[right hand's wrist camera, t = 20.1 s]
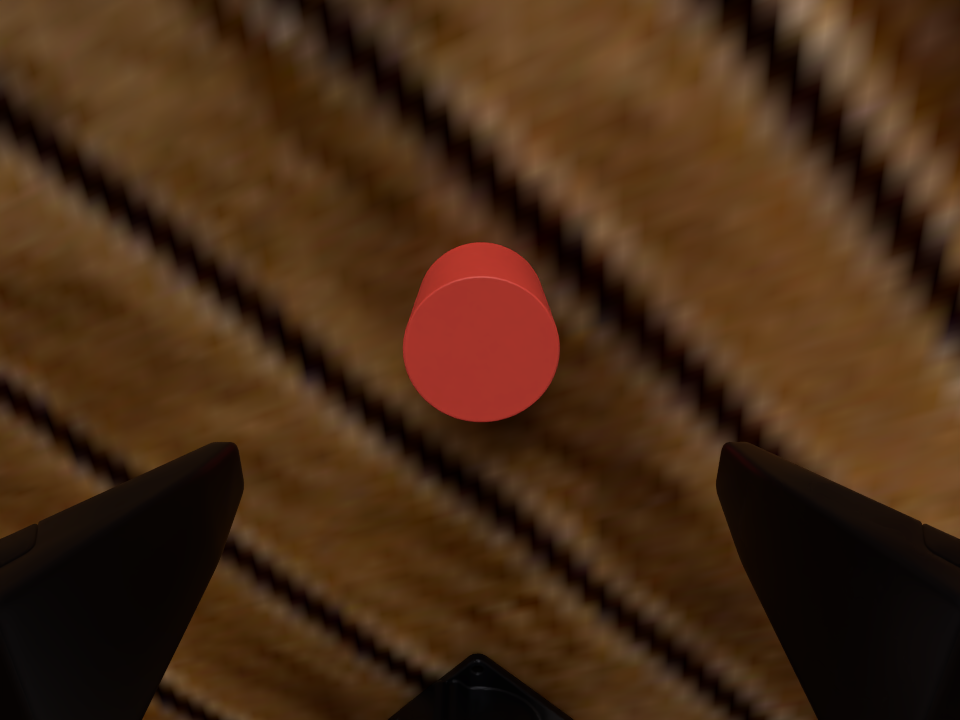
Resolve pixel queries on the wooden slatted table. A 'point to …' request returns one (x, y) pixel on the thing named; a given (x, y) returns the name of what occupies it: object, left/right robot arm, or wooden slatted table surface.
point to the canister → (481, 335)
